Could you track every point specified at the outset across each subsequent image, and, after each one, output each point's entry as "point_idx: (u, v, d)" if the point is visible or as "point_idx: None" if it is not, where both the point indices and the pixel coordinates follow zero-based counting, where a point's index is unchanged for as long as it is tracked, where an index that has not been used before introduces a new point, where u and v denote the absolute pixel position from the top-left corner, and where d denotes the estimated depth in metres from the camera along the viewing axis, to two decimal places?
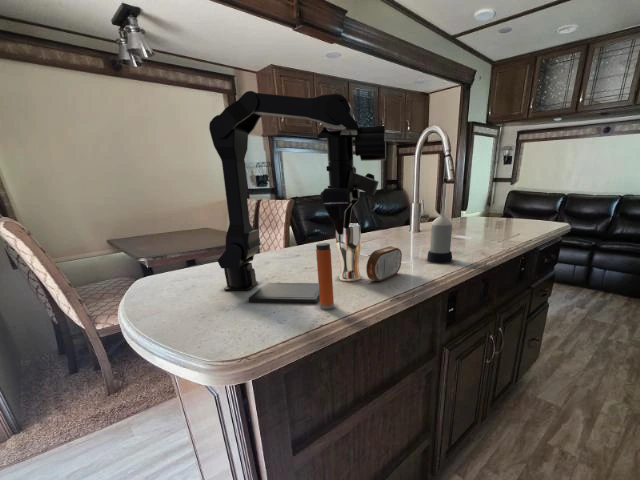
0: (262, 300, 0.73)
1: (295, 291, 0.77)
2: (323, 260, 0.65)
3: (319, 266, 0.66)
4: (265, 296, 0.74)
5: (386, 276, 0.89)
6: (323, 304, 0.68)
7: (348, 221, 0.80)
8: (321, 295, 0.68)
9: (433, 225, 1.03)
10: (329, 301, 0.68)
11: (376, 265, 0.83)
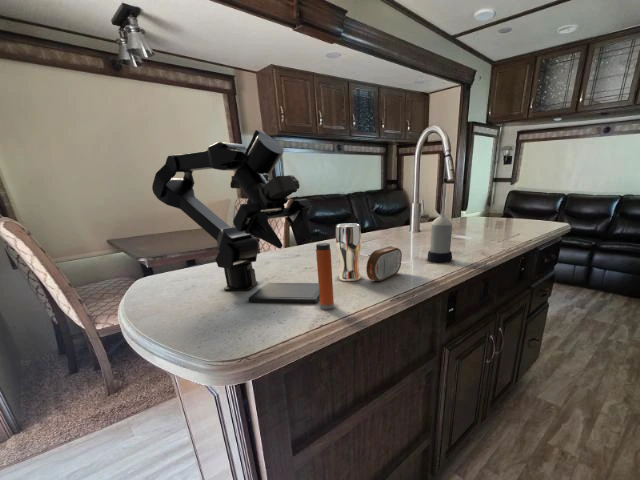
0: (262, 300, 0.73)
1: (295, 291, 0.77)
2: (323, 260, 0.65)
3: (319, 266, 0.66)
4: (265, 296, 0.74)
5: (386, 276, 0.89)
6: (323, 304, 0.68)
7: (307, 232, 0.73)
8: (321, 295, 0.68)
9: (433, 225, 1.03)
10: (329, 301, 0.68)
11: (376, 265, 0.83)
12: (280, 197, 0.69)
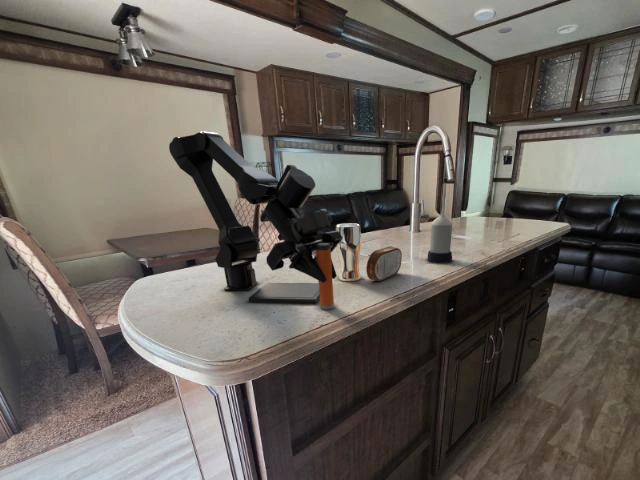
0: (262, 300, 0.73)
1: (295, 291, 0.77)
2: (323, 260, 0.65)
3: (319, 266, 0.66)
4: (265, 296, 0.74)
5: (386, 276, 0.89)
6: (323, 304, 0.68)
7: None
8: (321, 295, 0.68)
9: (433, 225, 1.03)
10: (329, 301, 0.68)
11: (376, 265, 0.83)
12: (312, 232, 0.67)
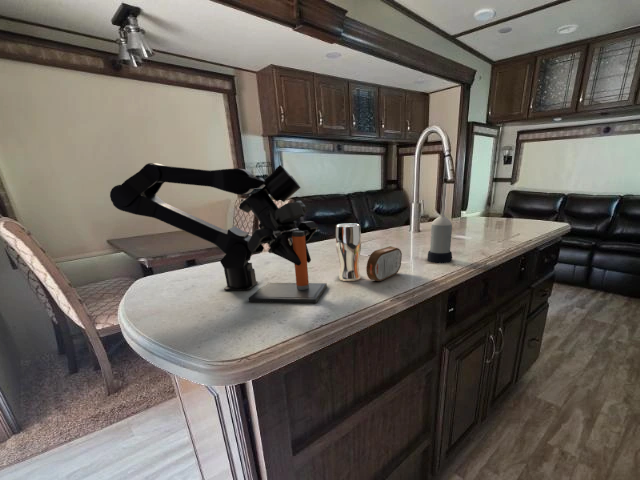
0: (262, 300, 0.73)
1: (295, 291, 0.77)
2: (298, 245, 0.74)
3: (295, 251, 0.75)
4: (265, 296, 0.74)
5: (386, 276, 0.89)
6: (299, 285, 0.77)
7: (306, 254, 0.77)
8: (297, 277, 0.77)
9: (433, 225, 1.03)
10: (304, 282, 0.77)
11: (376, 265, 0.83)
12: (289, 221, 0.76)
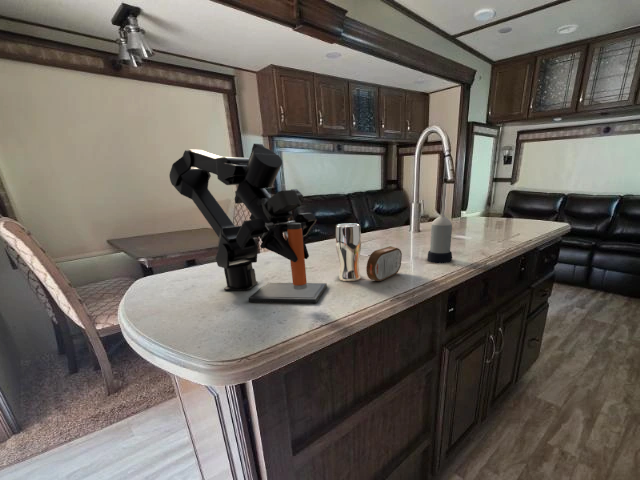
0: (262, 300, 0.73)
1: (295, 291, 0.77)
2: (294, 239, 0.65)
3: (290, 246, 0.66)
4: (265, 296, 0.74)
5: (386, 276, 0.89)
6: (295, 285, 0.69)
7: None
8: (293, 275, 0.68)
9: (433, 225, 1.03)
10: (301, 281, 0.68)
11: (376, 265, 0.83)
12: (284, 212, 0.67)
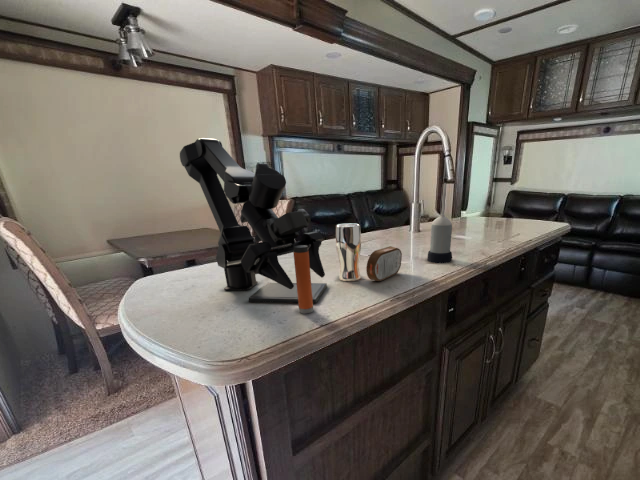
0: (262, 300, 0.73)
1: (295, 291, 0.77)
2: (300, 262, 0.63)
3: (297, 269, 0.64)
4: (265, 296, 0.74)
5: (386, 276, 0.89)
6: (302, 308, 0.67)
7: (319, 268, 0.68)
8: (299, 299, 0.66)
9: (433, 225, 1.03)
10: (308, 305, 0.66)
11: (376, 265, 0.83)
12: (290, 233, 0.65)
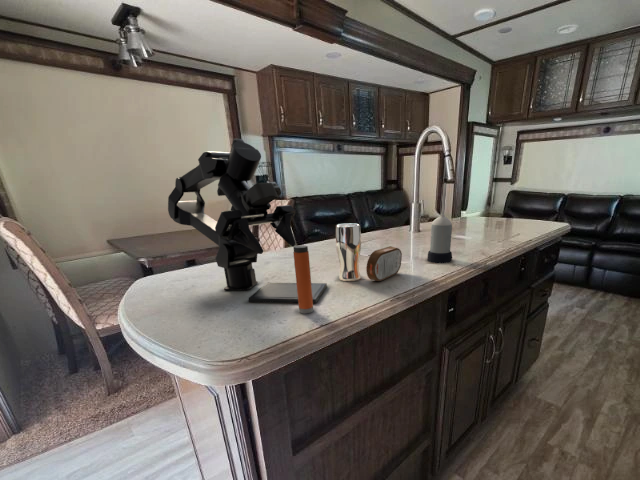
0: (262, 300, 0.73)
1: (295, 291, 0.77)
2: (300, 262, 0.63)
3: (297, 269, 0.64)
4: (265, 296, 0.74)
5: (386, 276, 0.89)
6: (302, 308, 0.67)
7: (290, 238, 0.74)
8: (299, 299, 0.66)
9: (433, 225, 1.03)
10: (308, 305, 0.66)
11: (376, 265, 0.83)
12: (262, 203, 0.71)
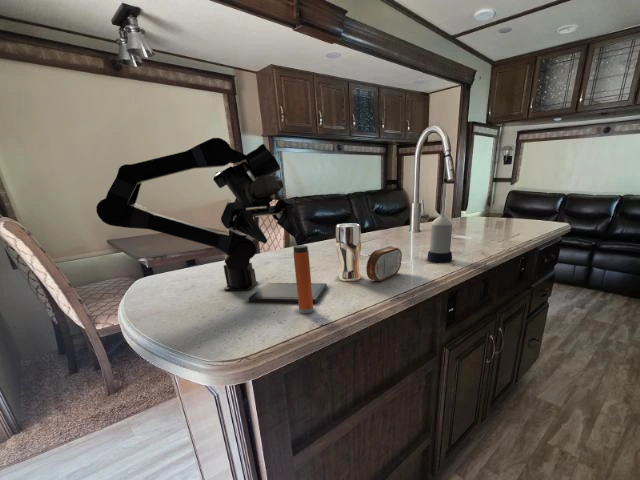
0: (262, 300, 0.73)
1: (295, 291, 0.77)
2: (300, 262, 0.63)
3: (297, 269, 0.64)
4: (265, 296, 0.74)
5: (386, 276, 0.89)
6: (302, 308, 0.67)
7: (292, 229, 0.77)
8: (299, 299, 0.66)
9: (433, 225, 1.03)
10: (308, 305, 0.66)
11: (376, 265, 0.83)
12: (265, 196, 0.74)
